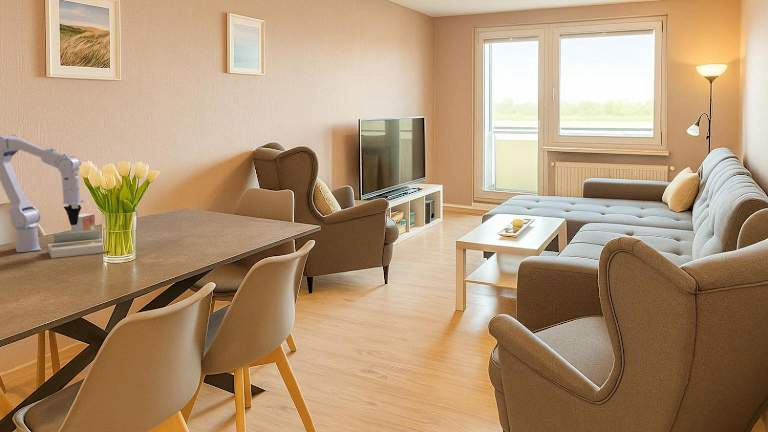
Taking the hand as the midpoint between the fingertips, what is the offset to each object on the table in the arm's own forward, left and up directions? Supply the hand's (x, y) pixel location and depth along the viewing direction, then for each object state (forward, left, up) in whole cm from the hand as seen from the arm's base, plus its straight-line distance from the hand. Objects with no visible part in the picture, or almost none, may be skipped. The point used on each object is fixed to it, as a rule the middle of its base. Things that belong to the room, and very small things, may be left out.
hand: (73, 224), depth 241 cm
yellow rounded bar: (+1, +2, -8) cm, 9 cm away
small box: (-20, +6, -11) cm, 24 cm away
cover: (0, +1, -5) cm, 5 cm away
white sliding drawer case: (+2, +1, -10) cm, 11 cm away
